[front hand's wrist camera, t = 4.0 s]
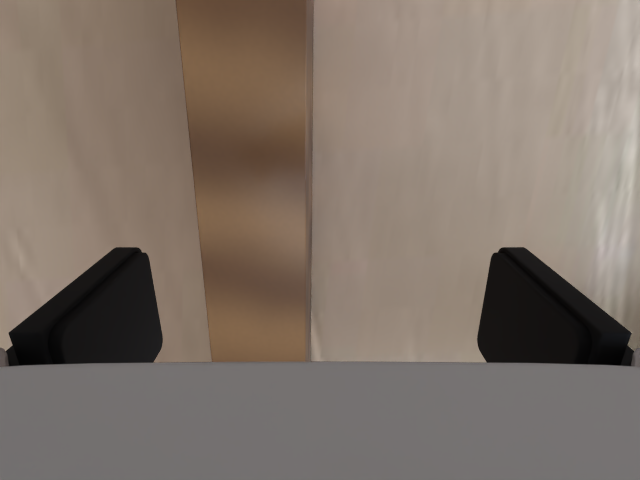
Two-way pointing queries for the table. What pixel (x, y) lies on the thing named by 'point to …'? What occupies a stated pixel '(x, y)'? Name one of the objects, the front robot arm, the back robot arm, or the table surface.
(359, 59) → the table surface
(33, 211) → the table surface
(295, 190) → the bar
